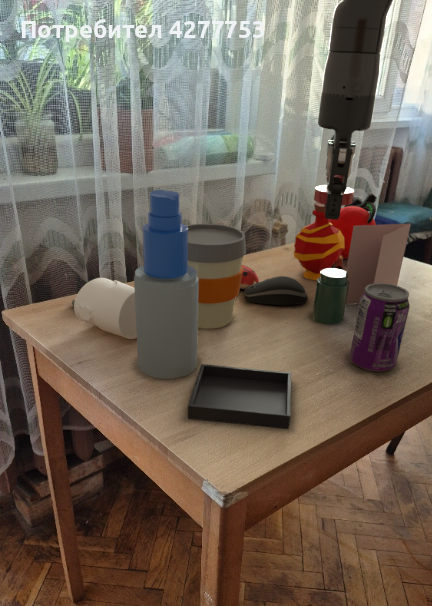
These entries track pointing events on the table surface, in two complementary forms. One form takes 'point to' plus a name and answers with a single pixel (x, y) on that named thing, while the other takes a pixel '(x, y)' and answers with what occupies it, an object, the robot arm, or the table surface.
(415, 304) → the table surface
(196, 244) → the reusable coffee cup
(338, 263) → the ammunition
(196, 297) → the spray bottle
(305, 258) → the potion bottle
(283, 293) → the computer mouse
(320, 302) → the jar
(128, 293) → the mug
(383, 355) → the beverage can
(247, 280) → the ladybug figurine
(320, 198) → the lid
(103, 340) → the table surface
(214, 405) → the tray
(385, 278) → the greeting card
